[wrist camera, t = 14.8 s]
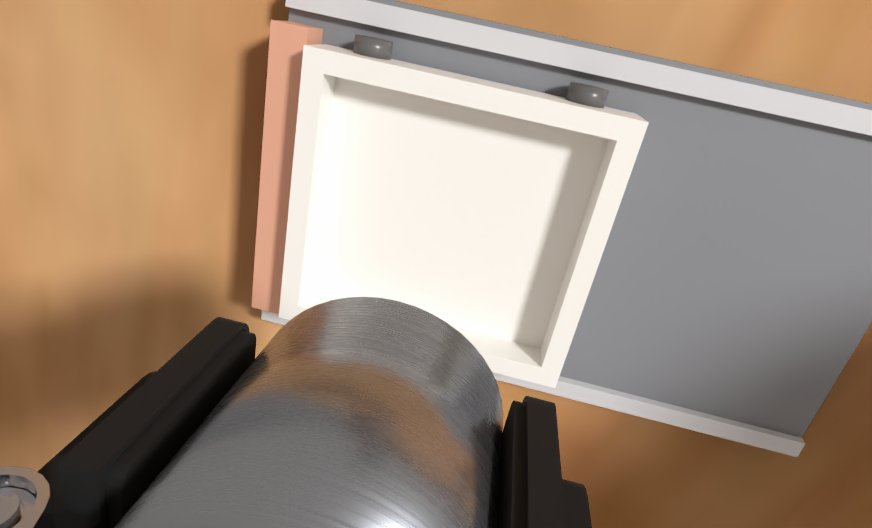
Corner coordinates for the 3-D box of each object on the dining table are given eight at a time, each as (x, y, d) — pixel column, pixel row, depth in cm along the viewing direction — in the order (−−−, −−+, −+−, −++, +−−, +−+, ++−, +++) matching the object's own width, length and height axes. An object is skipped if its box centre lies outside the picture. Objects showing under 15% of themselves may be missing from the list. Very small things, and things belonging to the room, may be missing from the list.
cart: (641, 96, 20) (655, 103, 18) (548, 368, 25) (550, 399, 23) (328, 27, 21) (305, 26, 19) (298, 304, 26) (277, 329, 24)
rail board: (967, 125, 20) (1027, 136, 18) (781, 439, 26) (807, 480, 24) (301, -20, 21) (273, -27, 19) (273, 309, 28) (249, 335, 25)
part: (533, 334, 10) (540, 596, 5) (471, 529, 12) (438, 840, 7) (267, 268, 10) (53, 460, 6) (251, 470, 12) (86, 732, 8)
